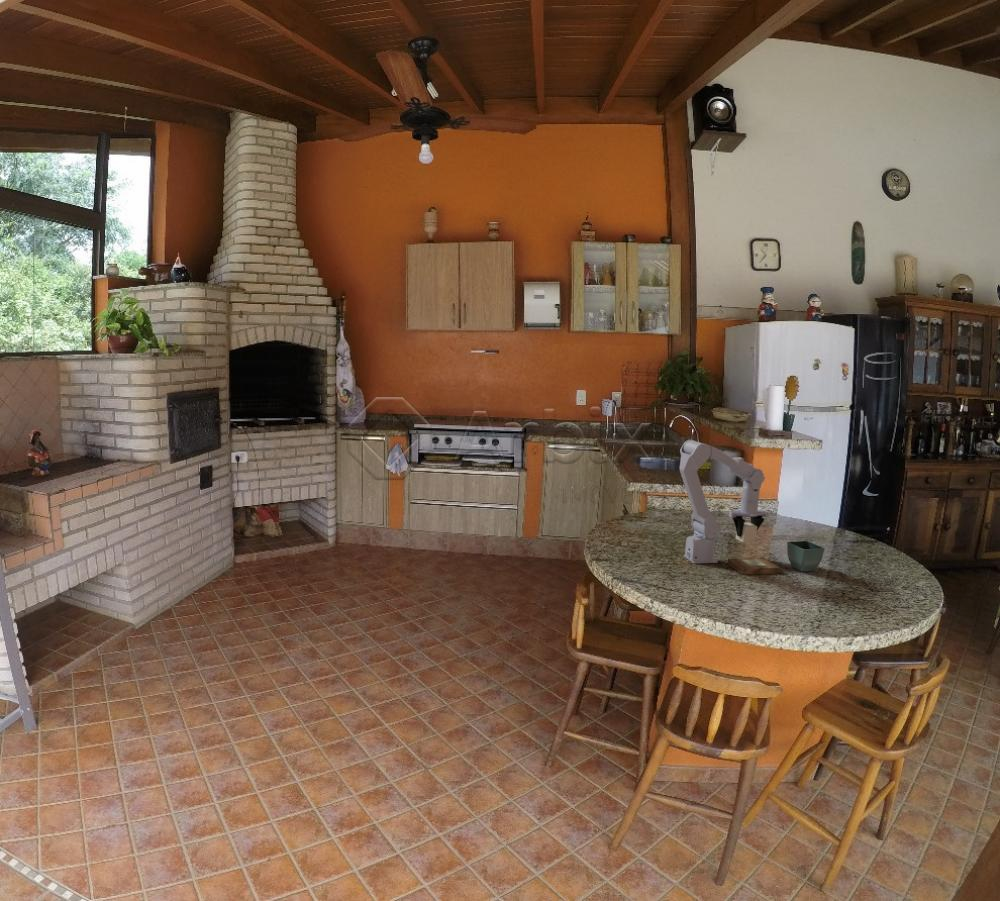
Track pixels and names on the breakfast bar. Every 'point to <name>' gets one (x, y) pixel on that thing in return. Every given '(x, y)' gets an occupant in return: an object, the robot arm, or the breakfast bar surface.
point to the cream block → (748, 533)
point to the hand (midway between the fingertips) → (746, 535)
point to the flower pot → (804, 555)
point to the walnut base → (753, 565)
